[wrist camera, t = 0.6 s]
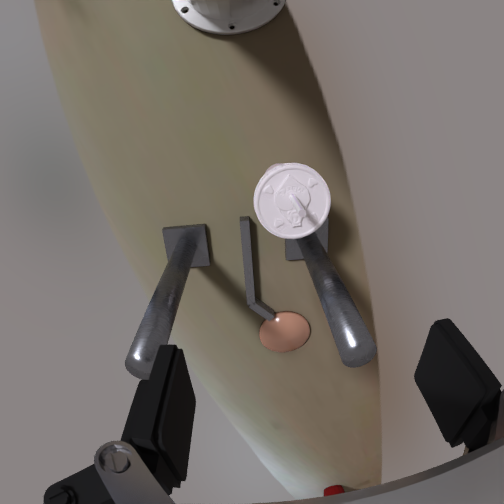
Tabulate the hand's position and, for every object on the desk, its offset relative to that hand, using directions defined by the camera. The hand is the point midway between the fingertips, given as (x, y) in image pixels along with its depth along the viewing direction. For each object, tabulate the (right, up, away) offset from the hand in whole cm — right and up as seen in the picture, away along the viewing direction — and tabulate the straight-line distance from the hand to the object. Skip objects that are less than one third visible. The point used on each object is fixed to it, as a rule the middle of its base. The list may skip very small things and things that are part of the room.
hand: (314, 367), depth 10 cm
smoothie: (+1, +12, +23) cm, 26 cm away
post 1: (-10, +5, +26) cm, 28 cm away
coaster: (+2, -7, +32) cm, 33 cm away
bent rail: (-1, +2, +28) cm, 28 cm away
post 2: (+4, +6, +26) cm, 27 cm away
